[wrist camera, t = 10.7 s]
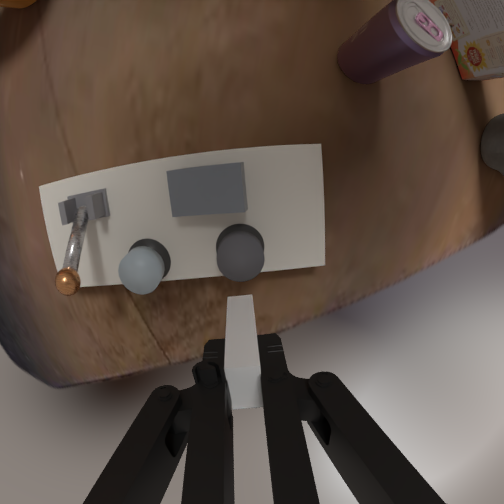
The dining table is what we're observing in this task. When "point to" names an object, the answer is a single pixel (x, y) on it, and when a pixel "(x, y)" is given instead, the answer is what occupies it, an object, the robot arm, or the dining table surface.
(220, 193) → the block
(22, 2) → the flower pot
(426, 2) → the beverage can
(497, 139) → the vase
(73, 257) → the lever
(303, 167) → the console
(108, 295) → the dining table surface
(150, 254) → the button
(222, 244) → the button
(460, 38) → the cracker box
